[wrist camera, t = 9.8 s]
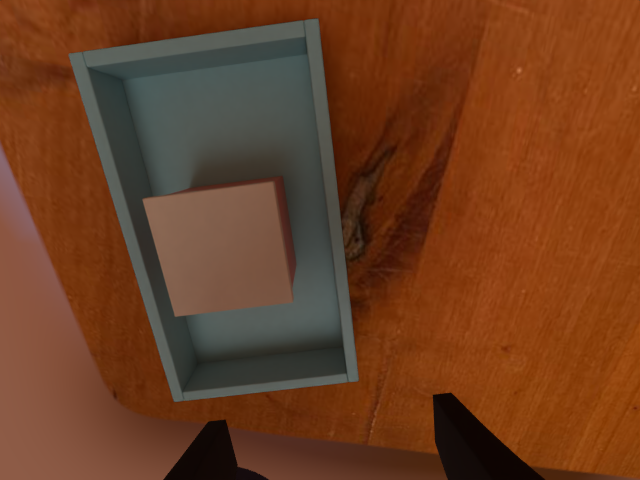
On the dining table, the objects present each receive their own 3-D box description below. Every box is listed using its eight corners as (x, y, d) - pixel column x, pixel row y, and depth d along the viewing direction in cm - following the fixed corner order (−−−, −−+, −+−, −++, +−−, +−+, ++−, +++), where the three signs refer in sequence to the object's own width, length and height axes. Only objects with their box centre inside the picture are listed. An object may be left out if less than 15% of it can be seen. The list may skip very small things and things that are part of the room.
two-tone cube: (208, 277, 18) (174, 317, 14) (186, 186, 17) (141, 198, 12) (298, 266, 18) (293, 303, 14) (284, 173, 17) (273, 181, 12)
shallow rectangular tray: (194, 365, 20) (173, 402, 18) (114, 71, 16) (67, 53, 13) (352, 347, 20) (359, 381, 17) (318, 42, 16) (318, 17, 13)
